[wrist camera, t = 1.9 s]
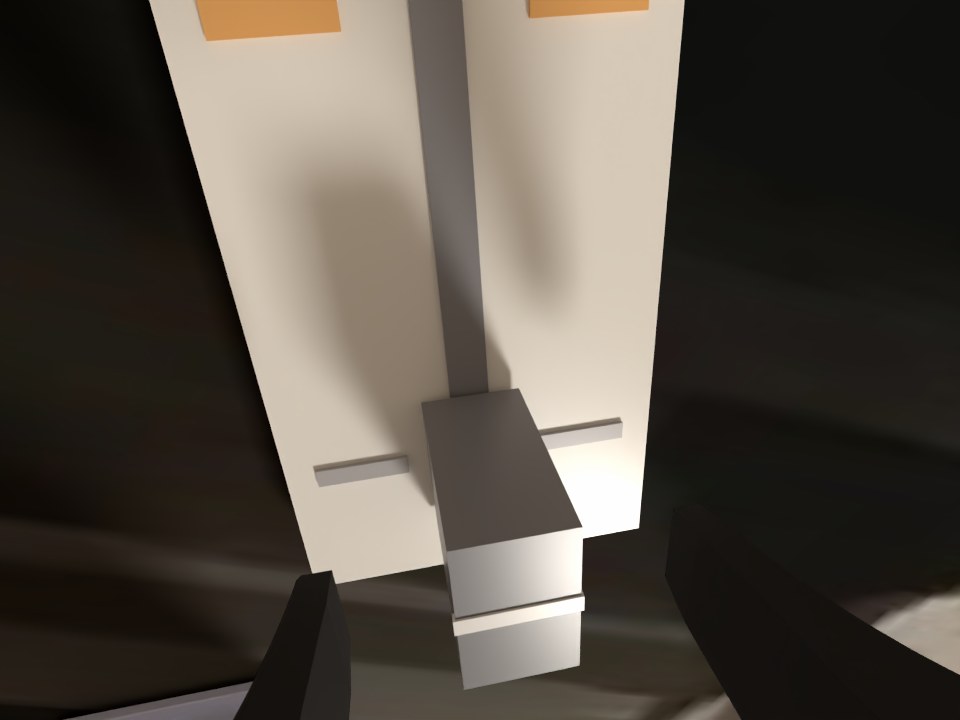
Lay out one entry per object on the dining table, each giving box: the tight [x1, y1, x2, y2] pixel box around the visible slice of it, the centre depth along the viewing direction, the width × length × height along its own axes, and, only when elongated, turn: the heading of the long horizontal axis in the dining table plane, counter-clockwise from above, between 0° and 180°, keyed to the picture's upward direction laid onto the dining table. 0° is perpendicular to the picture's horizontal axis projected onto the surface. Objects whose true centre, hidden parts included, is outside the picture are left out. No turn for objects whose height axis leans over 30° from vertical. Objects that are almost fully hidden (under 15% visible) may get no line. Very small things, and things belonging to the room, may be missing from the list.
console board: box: [149, 0, 684, 584], centre depth 14 cm, size 10×22×2 cm, turn 3°
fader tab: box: [421, 388, 584, 690], centre depth 14 cm, size 3×4×5 cm, turn 3°
